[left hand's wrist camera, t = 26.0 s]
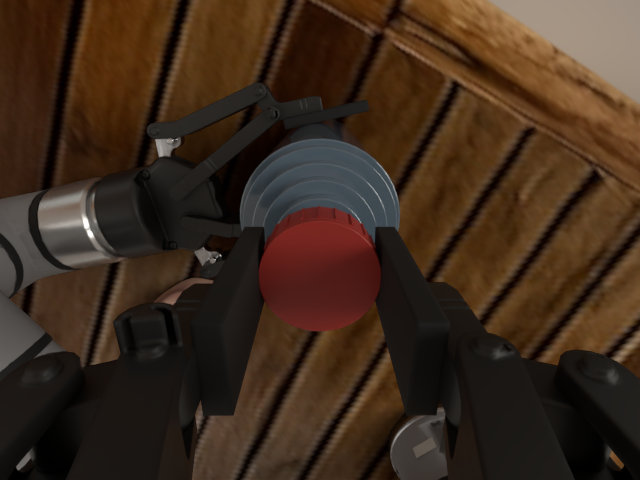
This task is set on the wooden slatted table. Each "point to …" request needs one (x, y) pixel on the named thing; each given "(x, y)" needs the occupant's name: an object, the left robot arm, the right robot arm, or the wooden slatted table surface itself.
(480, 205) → the wooden slatted table surface
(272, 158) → the bottle
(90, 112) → the wooden slatted table surface
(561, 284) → the wooden slatted table surface
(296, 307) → the cap
